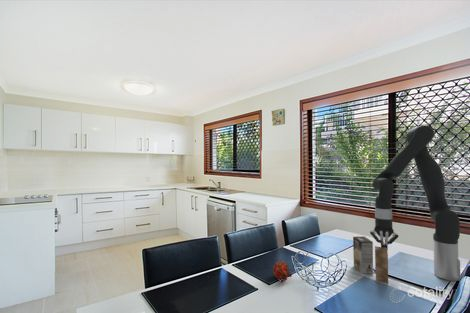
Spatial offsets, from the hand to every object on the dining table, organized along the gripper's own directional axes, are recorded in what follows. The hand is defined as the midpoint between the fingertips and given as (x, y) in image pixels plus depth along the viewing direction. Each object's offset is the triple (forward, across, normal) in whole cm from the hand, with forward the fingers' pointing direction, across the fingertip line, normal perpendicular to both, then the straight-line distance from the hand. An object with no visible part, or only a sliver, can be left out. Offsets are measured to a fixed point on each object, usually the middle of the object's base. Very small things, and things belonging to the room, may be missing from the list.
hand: (384, 251), depth 125 cm
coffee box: (+11, +10, 0) cm, 15 cm away
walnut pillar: (+11, +2, +9) cm, 14 cm away
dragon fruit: (+12, +45, +29) cm, 54 cm away
